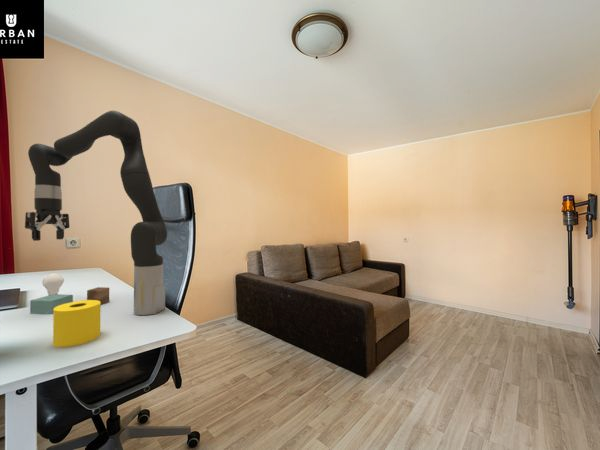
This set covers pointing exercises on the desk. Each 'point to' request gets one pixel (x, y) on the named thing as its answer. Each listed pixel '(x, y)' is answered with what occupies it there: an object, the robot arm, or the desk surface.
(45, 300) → the teal block
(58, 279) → the light bulb
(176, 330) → the desk surface
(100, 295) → the walnut block
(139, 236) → the robot arm
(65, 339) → the yellow holed block
